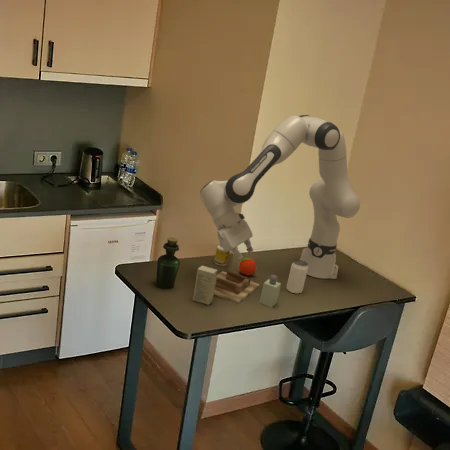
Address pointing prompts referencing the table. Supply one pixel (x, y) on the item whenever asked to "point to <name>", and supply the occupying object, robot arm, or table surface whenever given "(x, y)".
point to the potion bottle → (168, 265)
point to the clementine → (247, 266)
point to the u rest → (233, 286)
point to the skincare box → (205, 285)
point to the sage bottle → (270, 291)
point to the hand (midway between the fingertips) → (246, 255)
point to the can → (297, 276)
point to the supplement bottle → (221, 256)
